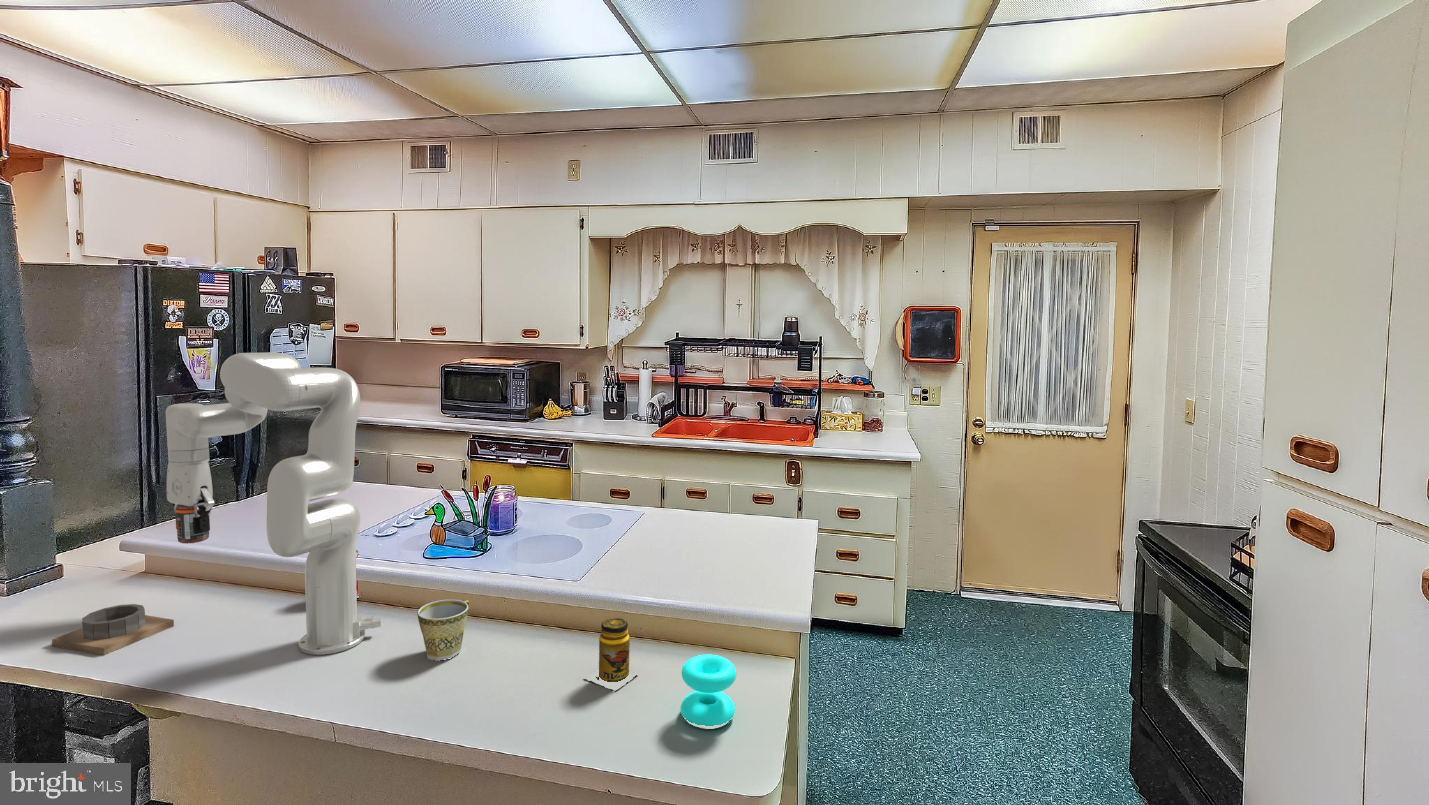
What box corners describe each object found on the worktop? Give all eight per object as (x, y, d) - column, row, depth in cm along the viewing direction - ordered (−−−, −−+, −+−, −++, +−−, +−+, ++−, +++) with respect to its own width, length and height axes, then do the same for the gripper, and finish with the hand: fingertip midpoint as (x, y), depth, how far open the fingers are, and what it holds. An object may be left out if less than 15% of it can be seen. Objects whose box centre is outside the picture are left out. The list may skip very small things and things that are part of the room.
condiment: (616, 692, 126) (617, 633, 125) (582, 679, 130) (583, 622, 129) (638, 676, 132) (639, 619, 131) (605, 664, 136) (606, 609, 135)
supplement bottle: (176, 539, 155) (173, 493, 154) (207, 535, 159) (205, 489, 158) (179, 546, 151) (176, 498, 150) (211, 540, 155) (208, 494, 154)
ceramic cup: (445, 669, 132) (445, 622, 131) (407, 660, 135) (406, 614, 134) (487, 641, 144) (487, 598, 143) (451, 633, 148) (450, 591, 146)
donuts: (670, 664, 118) (707, 646, 125) (668, 716, 119) (705, 695, 126) (711, 685, 111) (747, 665, 118) (709, 740, 112) (745, 716, 119)
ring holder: (125, 618, 150) (124, 597, 149) (173, 626, 147) (172, 604, 146) (52, 646, 136) (50, 623, 136) (104, 655, 133) (102, 632, 133)
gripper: (148, 455, 153) (153, 529, 154) (193, 462, 146) (198, 540, 148) (184, 450, 160) (188, 521, 161) (229, 457, 153) (233, 531, 155)
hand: (193, 529), depth 155 cm, fingers closed on supplement bottle, 6 cm apart
